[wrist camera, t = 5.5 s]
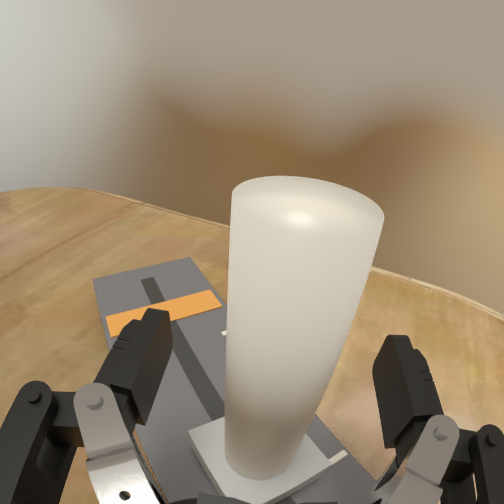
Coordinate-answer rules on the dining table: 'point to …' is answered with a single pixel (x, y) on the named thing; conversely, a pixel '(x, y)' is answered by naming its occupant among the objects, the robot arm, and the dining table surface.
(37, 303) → the dining table surface
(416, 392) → the robot arm
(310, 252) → the fader
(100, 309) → the track board
